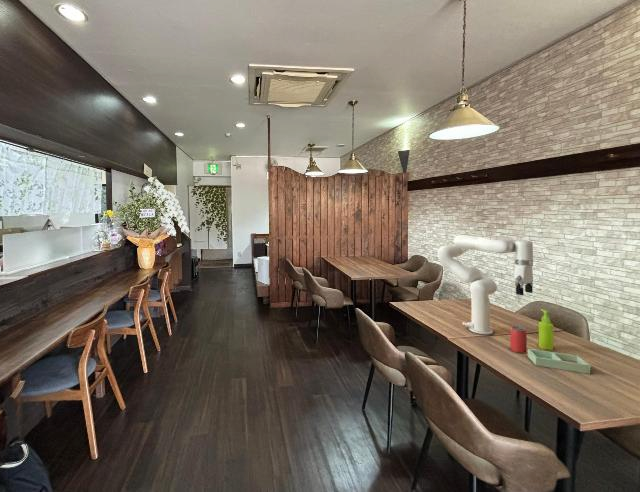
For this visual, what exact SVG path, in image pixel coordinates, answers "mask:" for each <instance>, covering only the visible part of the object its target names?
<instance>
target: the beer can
mask: <svg viewBox="0 0 640 492" xmlns="http://www.w3.org/2000/svg"><path fill="white" fill-rule="evenodd" d="M527 338H528V337H527V332H526V329H525V328H523V327H522V326H521V327H520V326H511V329H510V350H511V351H512V352H515V353H518V354H527V353H528V348H527V347H528V346H527V343H528V342H527V341H528V340H527Z"/></svg>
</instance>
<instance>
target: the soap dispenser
mask: <svg viewBox="0 0 640 492" xmlns="http://www.w3.org/2000/svg"><path fill="white" fill-rule="evenodd" d="M539 310H540V311H542V312H543V315H542V316H541V321H538V347H539V348H541V349H542V350H543V349H544V350H546V351H553V350H554V324H553V323H552V322H551V317H550V316H549V314H550V313H551V312H550V311H549V310H547V309H539Z"/></svg>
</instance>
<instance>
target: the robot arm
mask: <svg viewBox="0 0 640 492" xmlns="http://www.w3.org/2000/svg"><path fill="white" fill-rule="evenodd" d="M469 250H475V251H481V252H487V253H495V254H509V253H514V255H515V256H514V265H515V266H514V273H513V276H514V278H513V280H514V281H513V282H514V285H515V294H516V295H519V296H524V292H525V293H529V294H533V290H534V289H533V286H534V273H533V267H534V243H533V242H532V241H531V240H517V239H511V238H510V239H509V238H508V239H491V238H484V236H480V235H479V236H477V235H471V234H459V235H456V236H455V237H454V239H453V244H449V245H448V244H447V245H443V246H441V247H440V248H438V250H437V259H438V261H439V263H440V264H441V265H442V266H443V267H445V268H446V269H447V270H449V272H451V273H452V275H454V276H455V277H456V278H457V279H458V280H460V281H461V282H462V283H465V284H470V286H469V293H470V300H471V301H470V304H471V305H470V306H471V307H470V309H471V310H470V311H471V312H470V313H471V316H470V317H471V318H470V319H471V320H469V321H468V322H466V321H462V326H465V327H468V330H469V331H470V332H473V333H475V334H479V335H485V336H486V335H487V336H489V335H493V334H494V330H493V329H492V328H491V302H490V297H489V295H492V294H494V293H496V292H497V290H498V285H497V283H496V282H495V281H494V280H493V278H492V277H489V276H488V275H487V274H486V273H484V272H483V271H482V270H480V269H479V268H477V267H474V266H465V265H464V264H463V263H462V262H460V261H459V260H457V259H456V258H458V257H460V256H462V255H463V254H464V253H466V252H467V251H469Z"/></svg>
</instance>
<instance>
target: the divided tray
mask: <svg viewBox="0 0 640 492" xmlns="http://www.w3.org/2000/svg"><path fill="white" fill-rule="evenodd" d="M527 357H528V358H529V360H531V361H532V362H533V364H534V365H535V366H538V367H545V368H551V369H556V370H557V369H558V370H564V371H570V372H576V373H583V374H589V375H590V374H591V364H589V363H588V362H587V361H586V360H584V359H583V358H581V356H579V355H577V354H569V353H561V352H557V351H556V352H555V351H550V350H541V349H535V348H534V349H533V348H527Z"/></svg>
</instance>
